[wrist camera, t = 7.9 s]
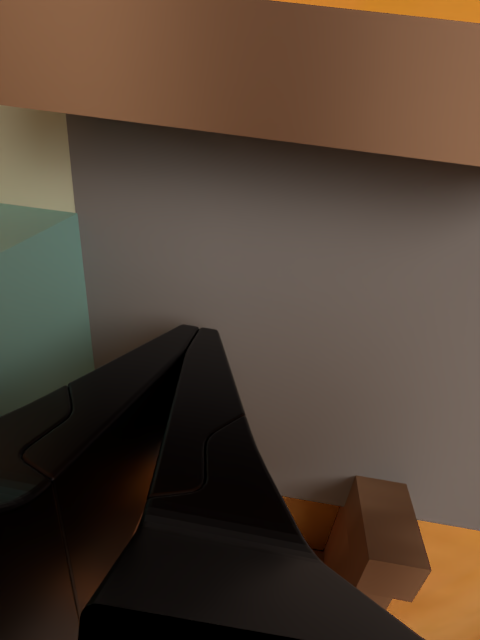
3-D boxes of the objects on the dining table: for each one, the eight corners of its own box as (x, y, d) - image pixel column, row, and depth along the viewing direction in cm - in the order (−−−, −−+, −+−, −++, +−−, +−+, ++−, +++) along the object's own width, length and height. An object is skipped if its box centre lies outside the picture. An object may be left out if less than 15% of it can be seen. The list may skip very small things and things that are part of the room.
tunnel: (592, 69, 7) (754, 53, 4) (358, 574, 15) (370, 668, 12) (62, 10, 7) (-51, -35, 5) (111, 528, 15) (76, 609, 13)
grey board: (999, 116, 7) (1028, 117, 6) (598, 543, 12) (604, 552, 12) (-139, -14, 8) (-153, -18, 7) (-10, 436, 14) (-16, 443, 13)
